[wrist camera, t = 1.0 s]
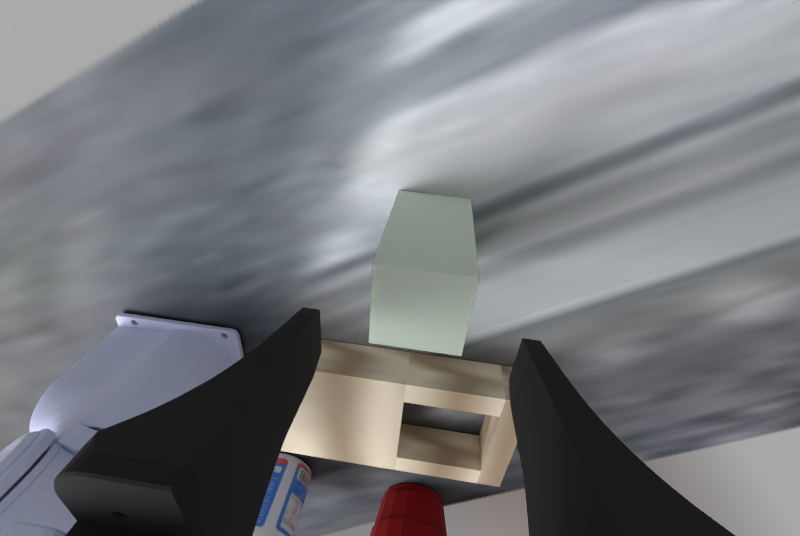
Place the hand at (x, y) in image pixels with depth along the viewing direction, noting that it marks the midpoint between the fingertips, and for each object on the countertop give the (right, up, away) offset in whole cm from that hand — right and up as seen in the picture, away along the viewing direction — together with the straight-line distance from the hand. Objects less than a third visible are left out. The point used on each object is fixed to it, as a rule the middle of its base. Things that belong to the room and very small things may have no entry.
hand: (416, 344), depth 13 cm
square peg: (+1, +5, +8) cm, 10 cm away
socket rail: (-1, -7, +16) cm, 18 cm away
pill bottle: (-12, -17, +24) cm, 32 cm away
